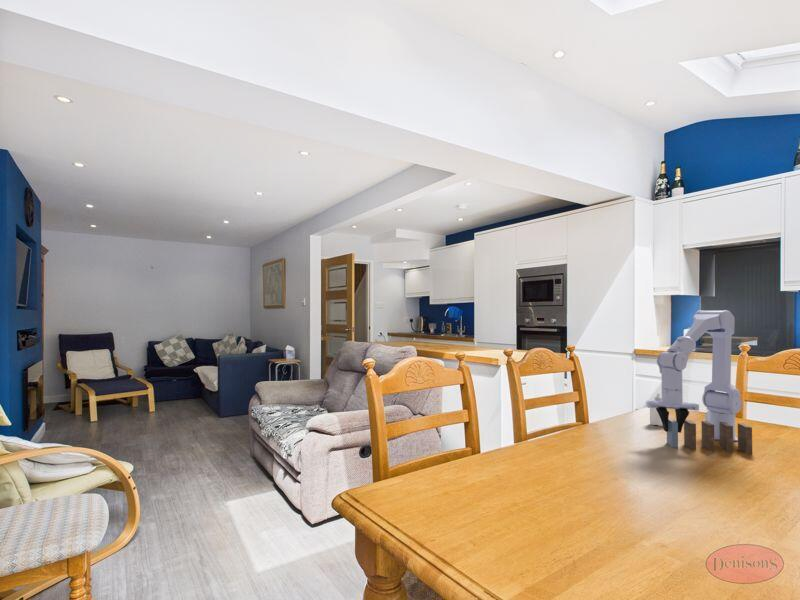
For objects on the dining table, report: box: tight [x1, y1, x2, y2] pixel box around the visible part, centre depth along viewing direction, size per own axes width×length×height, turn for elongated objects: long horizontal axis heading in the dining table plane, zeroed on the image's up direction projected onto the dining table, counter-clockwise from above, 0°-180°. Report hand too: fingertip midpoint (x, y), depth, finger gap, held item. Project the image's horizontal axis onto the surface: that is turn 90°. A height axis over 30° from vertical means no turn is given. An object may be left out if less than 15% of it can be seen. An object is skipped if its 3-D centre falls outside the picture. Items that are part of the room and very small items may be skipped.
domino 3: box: [701, 420, 716, 452], centre depth 136 cm, size 2×5×8 cm, turn 166°
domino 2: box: [683, 419, 697, 450], centre depth 137 cm, size 2×5×8 cm, turn 165°
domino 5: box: [737, 422, 753, 455], centre depth 133 cm, size 2×5×8 cm, turn 165°
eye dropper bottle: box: [649, 393, 668, 427], centre depth 163 cm, size 4×6×12 cm
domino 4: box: [719, 422, 734, 453], centre depth 134 cm, size 2×5×8 cm, turn 166°
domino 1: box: [666, 418, 679, 449], centre depth 138 cm, size 2×5×8 cm, turn 165°
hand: (672, 431), depth 138 cm, fingers open, 3 cm apart
